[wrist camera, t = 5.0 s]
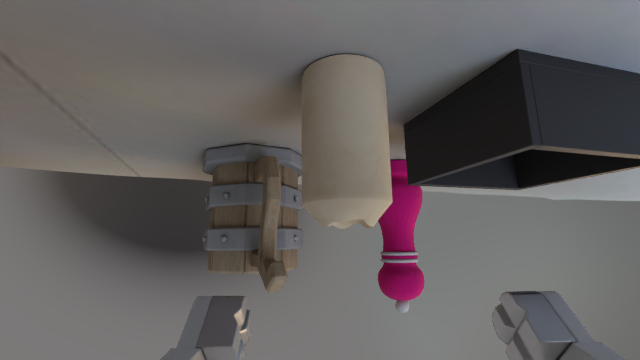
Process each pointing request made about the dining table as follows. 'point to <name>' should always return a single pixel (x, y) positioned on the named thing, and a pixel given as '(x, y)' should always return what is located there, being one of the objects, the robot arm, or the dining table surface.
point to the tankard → (253, 211)
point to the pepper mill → (400, 240)
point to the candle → (345, 141)
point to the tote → (528, 126)
